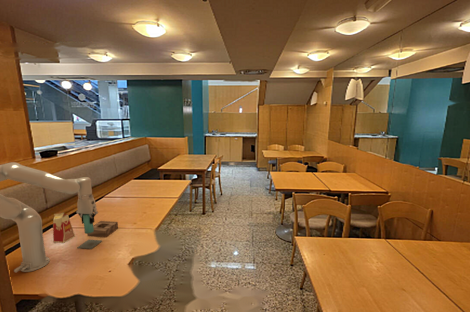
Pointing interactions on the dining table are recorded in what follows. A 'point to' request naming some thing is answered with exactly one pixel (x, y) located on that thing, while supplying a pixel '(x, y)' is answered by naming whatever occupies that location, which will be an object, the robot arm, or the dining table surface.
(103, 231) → the pocket block
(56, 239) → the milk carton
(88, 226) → the peg
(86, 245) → the mat
